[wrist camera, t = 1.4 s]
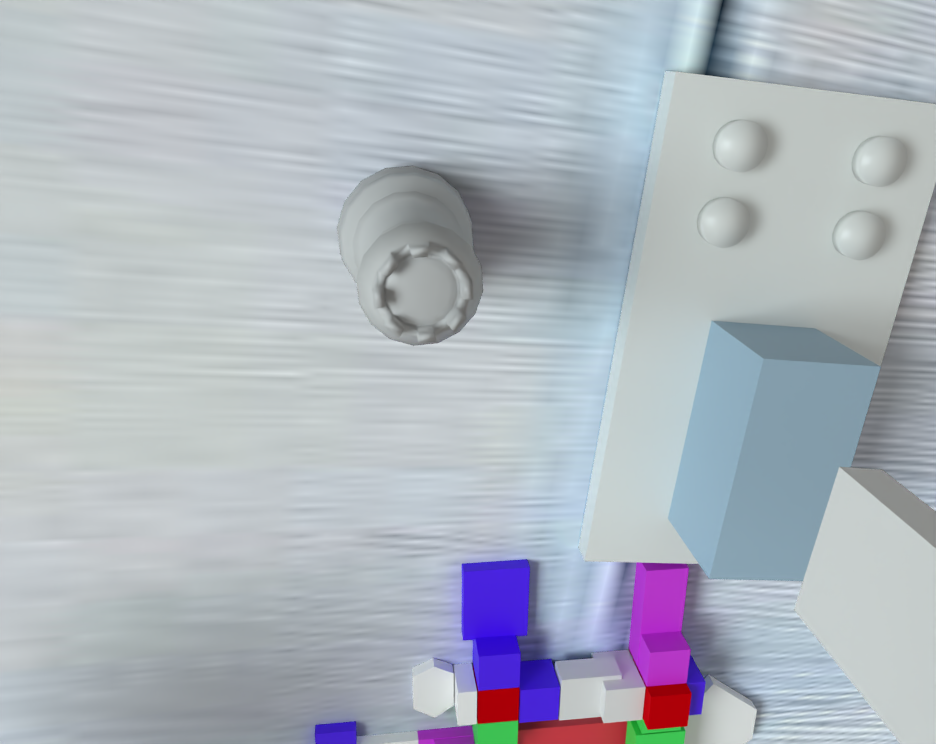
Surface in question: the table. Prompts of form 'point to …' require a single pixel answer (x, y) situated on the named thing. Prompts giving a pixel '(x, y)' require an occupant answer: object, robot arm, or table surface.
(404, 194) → the rook chess piece
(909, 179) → the build plate
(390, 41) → the table surface
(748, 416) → the blue brick
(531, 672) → the building block set
